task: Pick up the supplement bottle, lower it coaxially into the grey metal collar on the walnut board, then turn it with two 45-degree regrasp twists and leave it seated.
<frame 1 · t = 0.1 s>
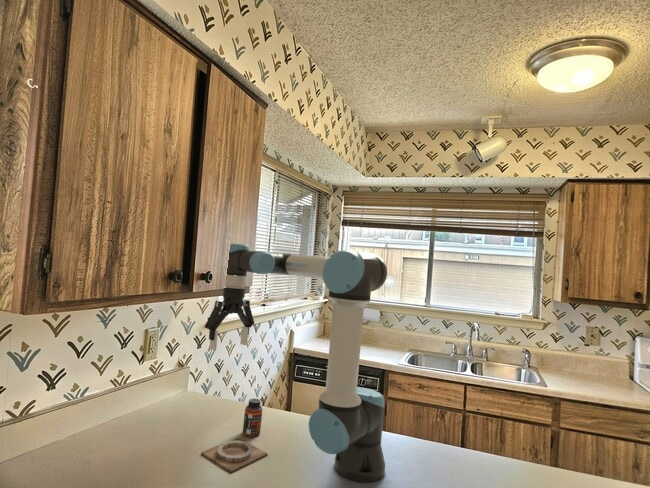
hand: (228, 347, 135), 28 cm above the counter, fingers open, 13 cm apart
collar: (235, 450, 116), on the seat board, point 1 cm above the counter
supplement bottle: (251, 434, 130), on the counter
seat board: (234, 454, 116), on the counter
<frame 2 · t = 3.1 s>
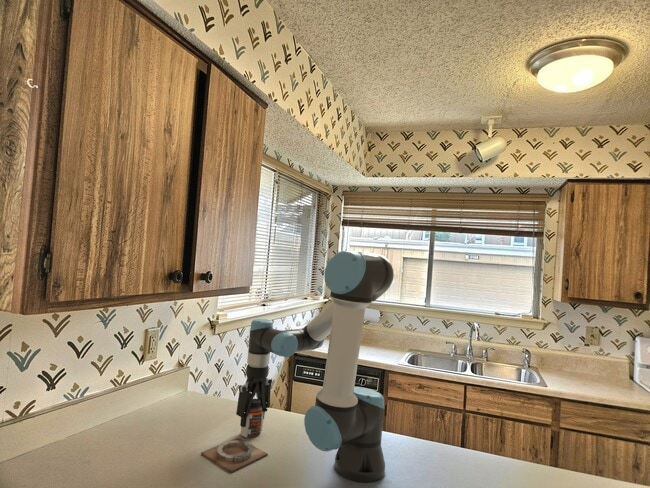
hand: (251, 432, 130), 0 cm above the counter, fingers closed on supplement bottle, 6 cm apart
supplement bottle: (251, 434, 130), on the counter, touching gripper
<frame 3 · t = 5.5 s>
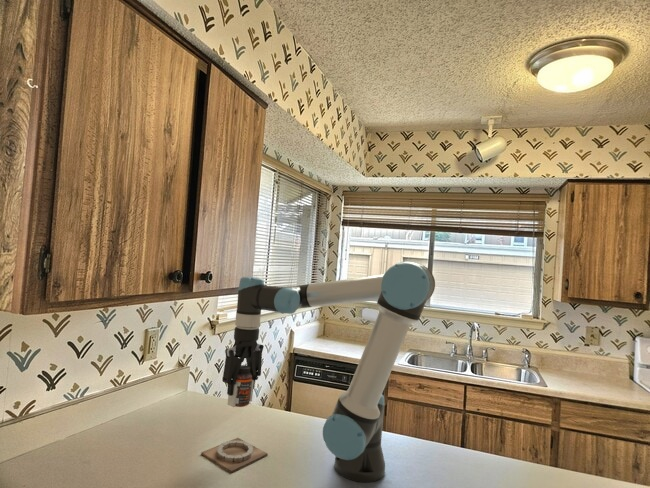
hand: (239, 402, 116), 16 cm above the counter, fingers closed on supplement bottle, 6 cm apart
supplement bottle: (239, 404, 116), point 15 cm above the counter, touching gripper
when the fingers open (3 cm above the counter, at t = 8.2 s): supplement bottle drops 2 cm, resting on seat board.
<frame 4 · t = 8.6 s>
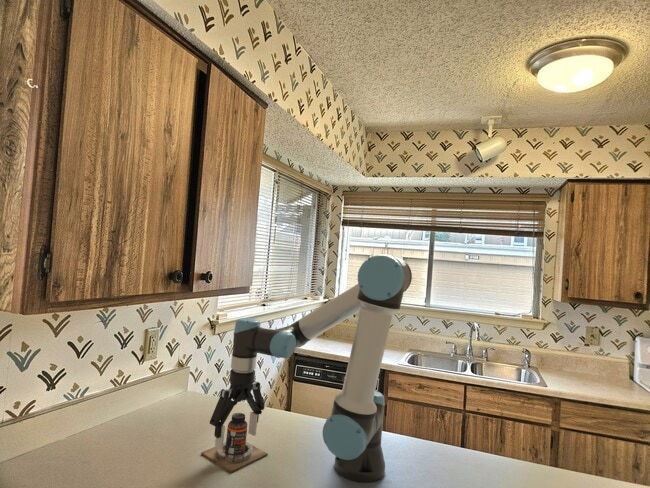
hand: (236, 440, 116), 4 cm above the counter, fingers open, 12 cm apart
supplement bottle: (234, 453, 116), resting on seat board
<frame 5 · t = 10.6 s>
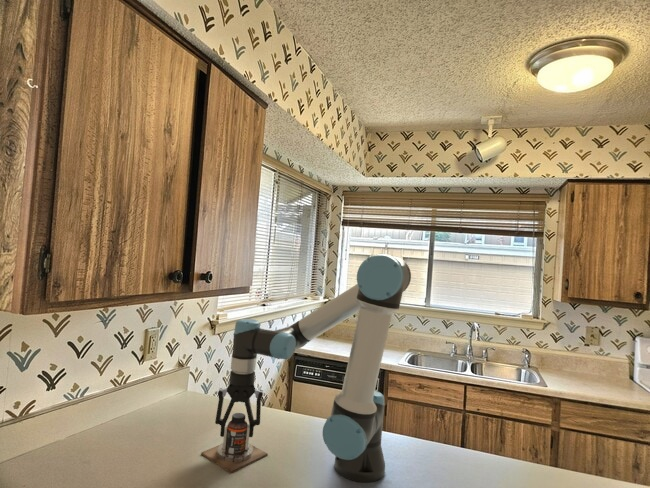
hand: (235, 447, 116), 2 cm above the counter, fingers closed on supplement bottle, 6 cm apart
supplement bottle: (234, 453, 116), resting on seat board, touching gripper
when the fingers open (3 cm above the counter, at t = 11.6 s): supplement bottle stays where it is, resting on seat board.
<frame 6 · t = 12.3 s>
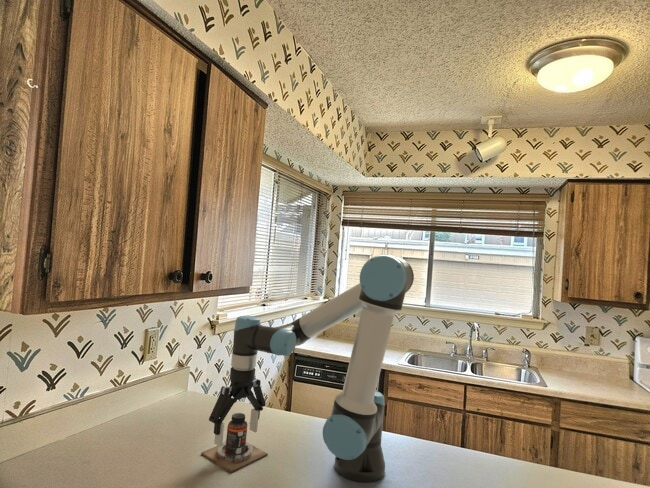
hand: (236, 437, 116), 5 cm above the counter, fingers open, 13 cm apart
supplement bottle: (234, 453, 116), resting on seat board
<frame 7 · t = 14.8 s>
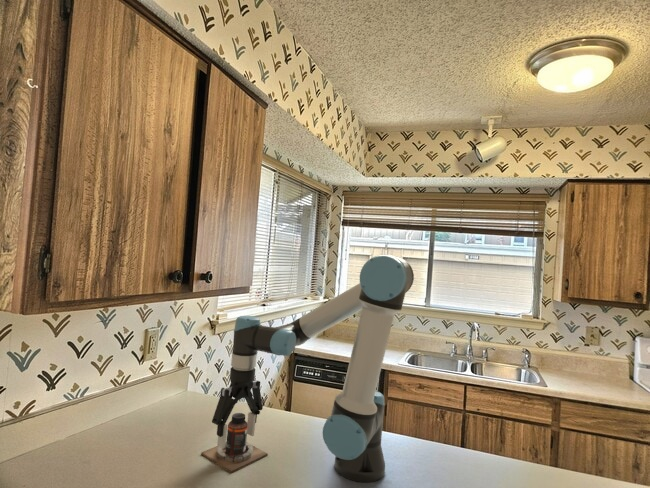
hand: (236, 440, 116), 4 cm above the counter, fingers open, 10 cm apart
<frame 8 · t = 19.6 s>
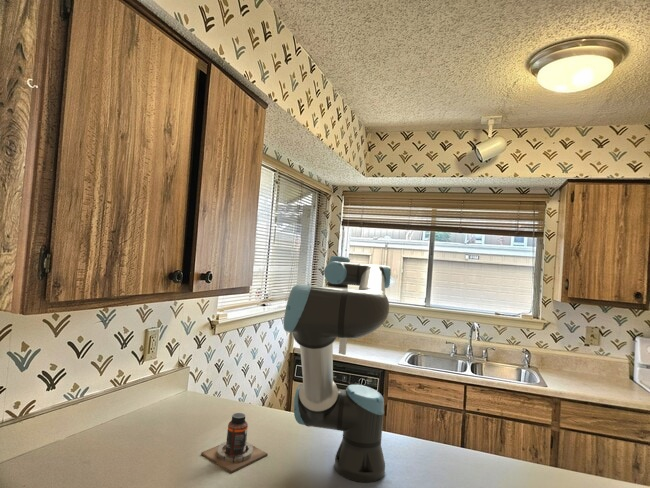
hand: (331, 356, 138), 27 cm above the counter, fingers open, 13 cm apart
at the end: supplement bottle 0.1 cm from the collar (horizontally); supplement bottle tilted 0°; the gripper is holding nothing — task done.
